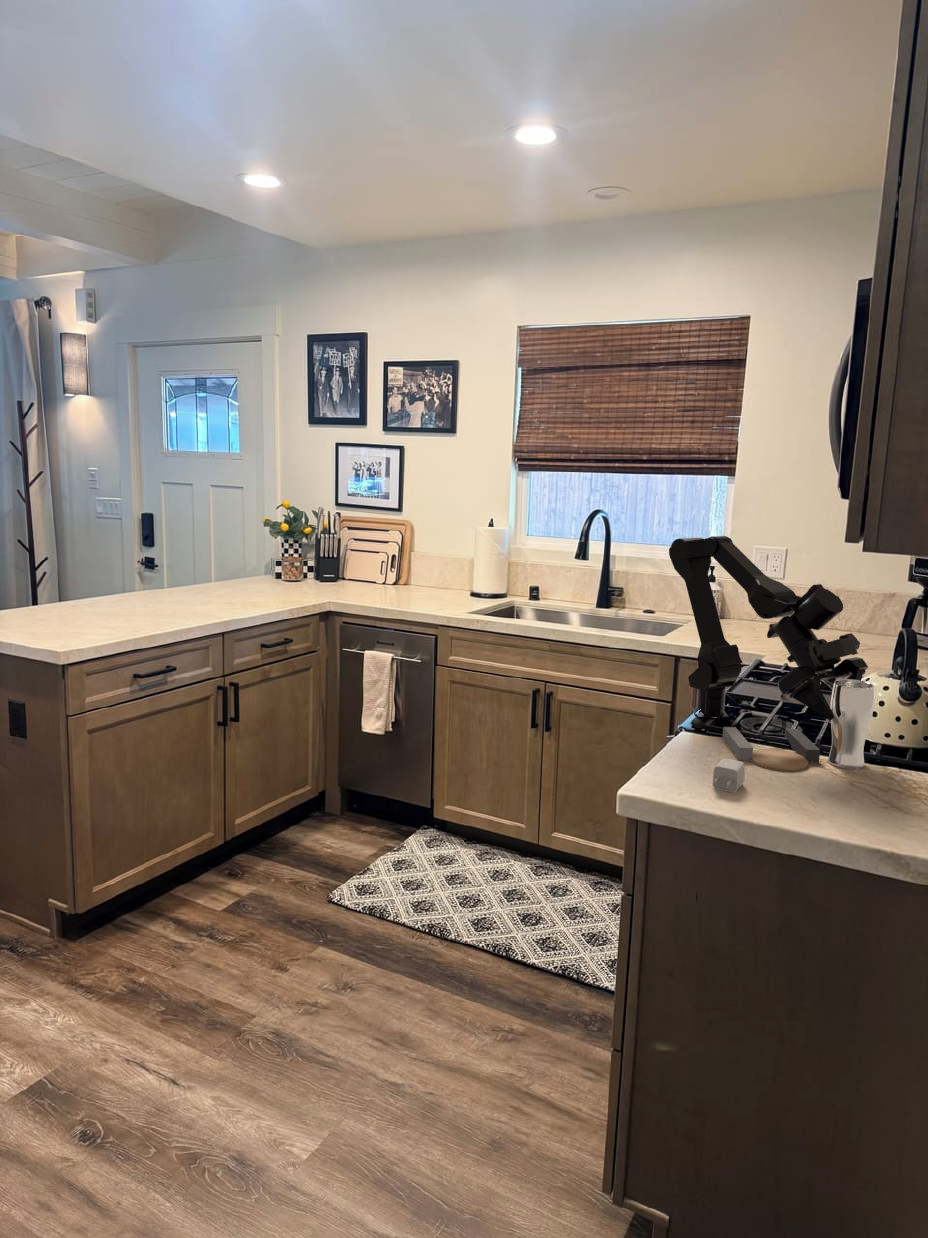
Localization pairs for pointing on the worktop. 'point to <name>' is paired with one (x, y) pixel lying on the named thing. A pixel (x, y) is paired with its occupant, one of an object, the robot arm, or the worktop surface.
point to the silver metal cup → (850, 722)
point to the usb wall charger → (728, 775)
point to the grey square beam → (737, 743)
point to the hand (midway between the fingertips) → (848, 715)
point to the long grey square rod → (802, 745)
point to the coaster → (779, 760)
